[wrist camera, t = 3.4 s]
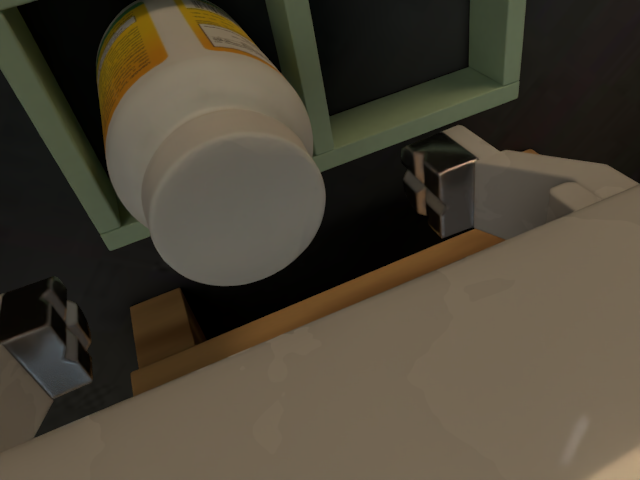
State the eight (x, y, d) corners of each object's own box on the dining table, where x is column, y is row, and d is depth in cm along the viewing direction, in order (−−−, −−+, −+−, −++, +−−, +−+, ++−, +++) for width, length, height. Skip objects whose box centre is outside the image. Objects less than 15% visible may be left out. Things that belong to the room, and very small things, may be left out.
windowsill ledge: (120, 301, 23) (142, 468, 17) (534, 138, 27) (673, 227, 21) (193, 415, 30) (228, 566, 24) (519, 271, 34) (622, 369, 28)
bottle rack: (-37, -32, 15) (-50, -13, 13) (492, -174, 18) (542, -174, 16) (105, 214, 21) (109, 251, 19) (483, 77, 24) (518, 98, 22)
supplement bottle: (233, -26, 17) (351, 71, 10) (260, 120, 21) (362, 267, 14) (66, 7, 16) (71, 140, 9) (123, 156, 20) (159, 337, 13)
